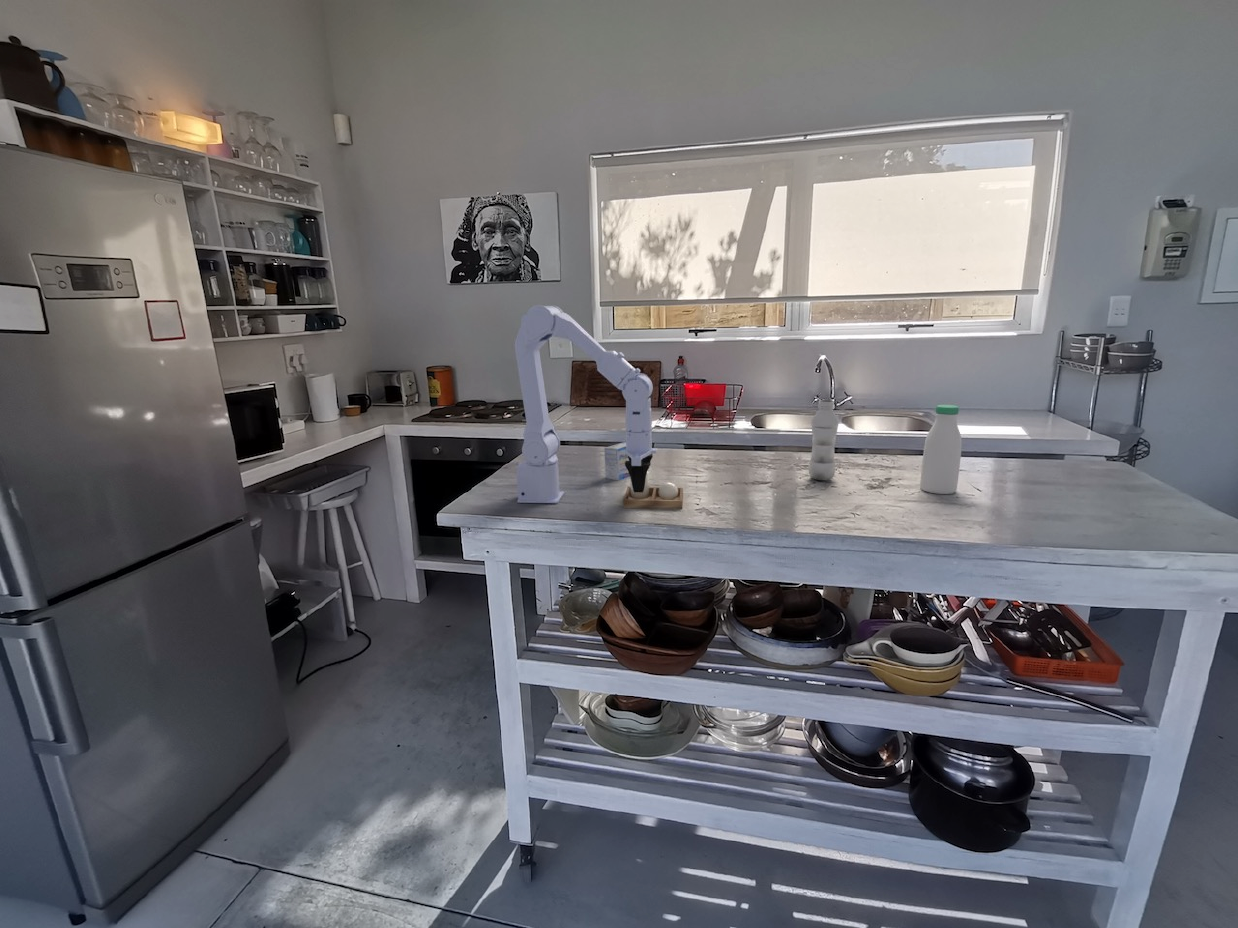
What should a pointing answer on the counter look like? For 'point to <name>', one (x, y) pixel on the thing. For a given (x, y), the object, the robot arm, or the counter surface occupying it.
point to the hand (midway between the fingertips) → (639, 488)
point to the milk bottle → (942, 453)
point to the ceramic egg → (668, 491)
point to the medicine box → (616, 462)
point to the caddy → (653, 500)
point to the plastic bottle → (823, 441)
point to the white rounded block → (641, 494)
